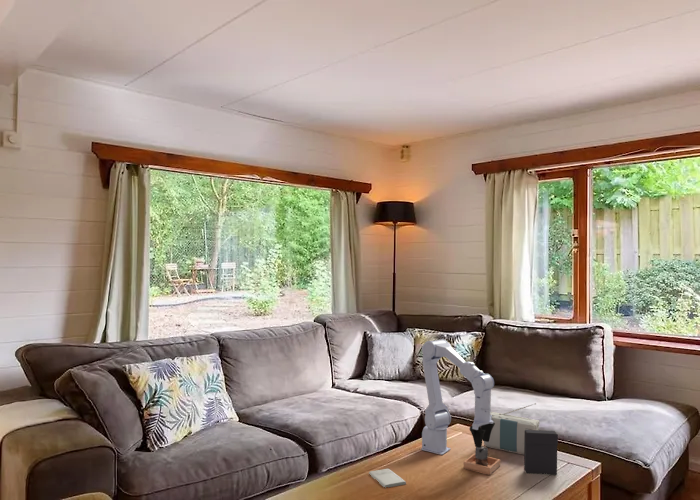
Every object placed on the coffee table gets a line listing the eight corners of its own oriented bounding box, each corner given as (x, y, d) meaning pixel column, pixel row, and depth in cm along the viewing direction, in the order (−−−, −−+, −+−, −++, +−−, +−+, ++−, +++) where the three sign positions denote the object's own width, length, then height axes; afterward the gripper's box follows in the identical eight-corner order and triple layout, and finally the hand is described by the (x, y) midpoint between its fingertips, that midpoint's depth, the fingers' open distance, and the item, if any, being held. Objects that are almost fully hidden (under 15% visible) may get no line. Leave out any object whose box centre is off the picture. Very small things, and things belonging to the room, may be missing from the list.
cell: (473, 466, 202) (474, 447, 202) (477, 462, 206) (477, 443, 206) (485, 469, 200) (485, 449, 200) (489, 465, 204) (489, 446, 204)
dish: (463, 468, 202) (463, 461, 202) (474, 460, 210) (474, 453, 210) (490, 475, 196) (490, 468, 196) (500, 466, 204) (500, 459, 204)
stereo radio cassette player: (482, 447, 224) (483, 398, 224) (490, 442, 231) (490, 394, 231) (534, 459, 212) (535, 407, 212) (540, 453, 219) (541, 403, 219)
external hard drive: (384, 489, 184) (368, 475, 196) (406, 485, 187) (389, 472, 199) (384, 485, 184) (368, 471, 196) (406, 481, 187) (389, 467, 199)
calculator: (554, 471, 200) (554, 430, 200) (557, 476, 196) (558, 434, 196) (523, 469, 202) (523, 428, 202) (526, 474, 197) (526, 432, 197)
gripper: (485, 414, 195) (485, 452, 195) (500, 405, 207) (499, 441, 207) (467, 410, 199) (466, 447, 199) (482, 401, 211) (481, 437, 211)
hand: (482, 444), depth 203 cm, fingers open, 7 cm apart
